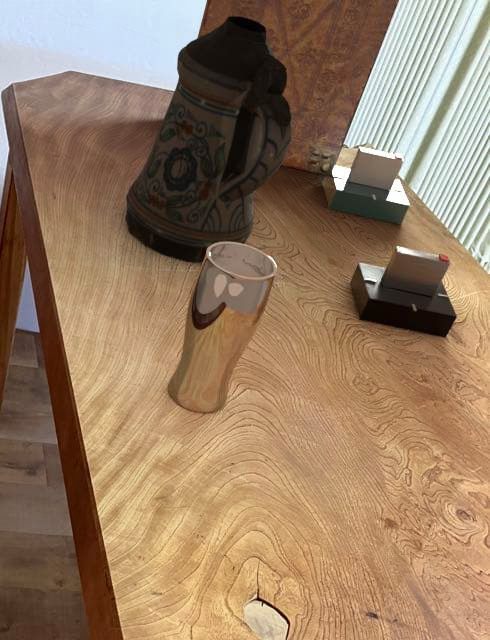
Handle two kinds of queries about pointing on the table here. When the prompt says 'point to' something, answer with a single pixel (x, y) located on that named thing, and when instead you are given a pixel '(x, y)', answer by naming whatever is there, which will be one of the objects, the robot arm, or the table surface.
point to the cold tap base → (364, 197)
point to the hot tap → (415, 271)
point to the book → (316, 64)
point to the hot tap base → (400, 304)
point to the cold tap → (375, 168)
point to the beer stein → (213, 144)
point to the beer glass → (220, 322)
